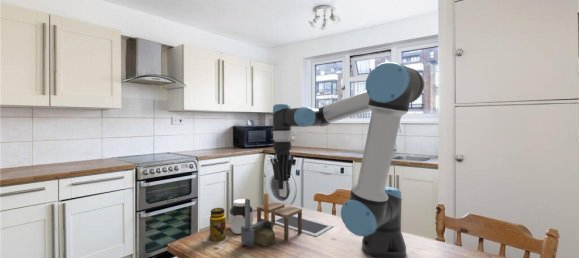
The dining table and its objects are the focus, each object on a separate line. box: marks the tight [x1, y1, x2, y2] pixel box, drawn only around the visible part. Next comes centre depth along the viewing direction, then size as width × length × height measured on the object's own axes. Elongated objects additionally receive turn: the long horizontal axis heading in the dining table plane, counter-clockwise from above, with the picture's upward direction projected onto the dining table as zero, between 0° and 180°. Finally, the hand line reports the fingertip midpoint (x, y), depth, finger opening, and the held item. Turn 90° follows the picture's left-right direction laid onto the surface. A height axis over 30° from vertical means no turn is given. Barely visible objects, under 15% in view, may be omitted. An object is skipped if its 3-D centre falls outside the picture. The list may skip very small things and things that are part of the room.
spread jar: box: [228, 198, 254, 235], centre depth 118 cm, size 12×11×12 cm
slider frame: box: [240, 192, 274, 248], centre depth 105 cm, size 6×11×17 cm, turn 141°
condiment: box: [201, 207, 230, 245], centre depth 108 cm, size 7×8×12 cm
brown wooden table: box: [256, 201, 303, 242], centre depth 115 cm, size 16×10×10 cm, turn 51°
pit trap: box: [275, 214, 334, 238], centre depth 123 cm, size 26×14×1 cm, turn 51°
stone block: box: [254, 227, 276, 247], centre depth 106 cm, size 6×12×5 cm, turn 51°
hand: (283, 196), depth 116 cm, fingers closed
